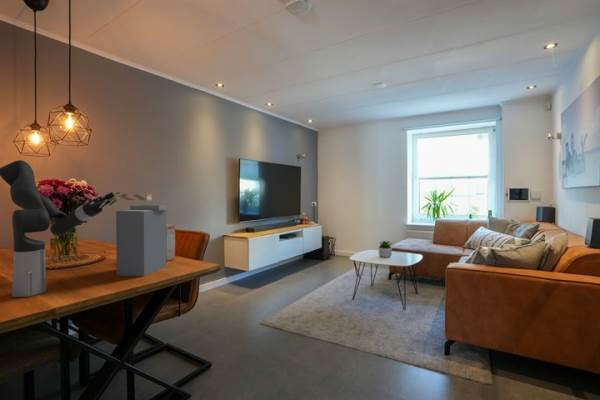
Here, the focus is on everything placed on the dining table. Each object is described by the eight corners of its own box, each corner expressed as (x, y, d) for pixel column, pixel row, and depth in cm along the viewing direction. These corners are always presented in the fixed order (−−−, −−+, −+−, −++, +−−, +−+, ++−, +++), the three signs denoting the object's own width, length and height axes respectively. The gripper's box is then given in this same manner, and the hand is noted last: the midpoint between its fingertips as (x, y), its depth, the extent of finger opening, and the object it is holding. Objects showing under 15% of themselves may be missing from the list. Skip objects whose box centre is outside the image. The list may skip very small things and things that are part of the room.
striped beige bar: (151, 200, 150) (151, 194, 149) (146, 200, 146) (146, 194, 146) (110, 199, 151) (110, 193, 151) (104, 199, 147) (104, 193, 147)
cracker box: (175, 259, 180) (175, 224, 179) (166, 261, 175) (166, 225, 174) (161, 256, 187) (161, 223, 187) (152, 258, 182) (152, 224, 182)
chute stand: (169, 266, 163) (168, 205, 162) (147, 276, 143) (147, 206, 142) (141, 265, 164) (141, 204, 164) (116, 275, 145) (116, 206, 144)
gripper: (73, 204, 143) (102, 186, 142) (95, 203, 157) (122, 187, 156) (80, 218, 143) (110, 200, 142) (102, 216, 157) (129, 200, 156)
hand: (116, 193), depth 149 cm, fingers closed on striped beige bar, 4 cm apart
